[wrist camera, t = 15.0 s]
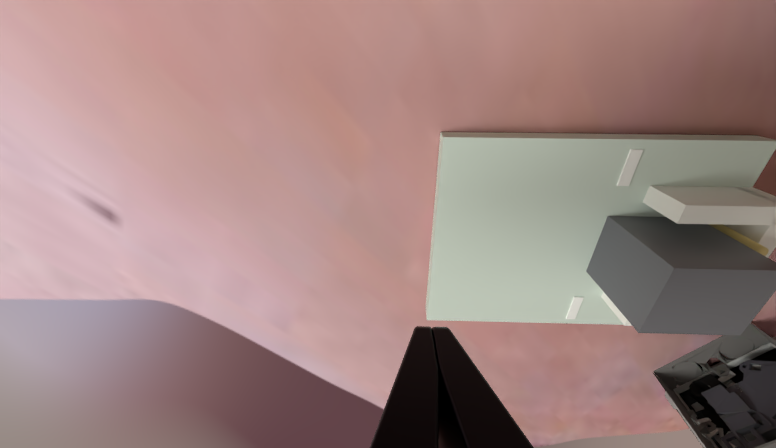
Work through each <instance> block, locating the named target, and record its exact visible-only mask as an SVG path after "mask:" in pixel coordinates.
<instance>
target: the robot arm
mask: <svg viewBox="0 0 776 448" xmlns="http://www.w3.org/2000/svg"><path fill="white" fill-rule="evenodd" d="M370 448H533V446H532V445H531V443H530V442H529V440H528V439H527V438H526V436H525V435H524V433H523V432H522V431H521V429H520V428H519V426H518V425H517V424H516V422H515V421H514V419H513V418H512V417H511V415H510V414H509V412H508V411H507V409H506V408H505V407H504V405H503V404H502V402H501V401H500V400H499V398H498V397H497V395H496V394H495V393H494V391H493V390H492V388H491V387H490V385H489V384H488V383H487V381H486V380H485V378H484V377H483V376H482V374H481V373H480V371H479V370H478V369H477V367H476V366H475V364H474V363H473V362H472V360H471V359H470V357H469V356H468V354H467V353H466V352H465V350H464V349H463V347H462V346H461V345H460V343H459V342H458V340H457V339H456V338H455V336H454V335H453V333H452V332H451V331H450V329H449V328H447V327H433V328H432V329H431V327H422V326H417V327H415V329H414V331H413V334H412V337H411V339H410V342H409V345H408V347H407V350H406V353H405V355H404V358H403V361H402V363H401V366H400V369H399V371H398V374H397V377H396V379H395V382H394V385H393V387H392V390H391V392H390V395H389V398H388V400H387V403H386V406H385V408H384V411H383V414H382V417H381V419H380V422H379V425H378V427H377V430H376V432H375V435H374V438H373V440H372V443H371V446H370Z"/></svg>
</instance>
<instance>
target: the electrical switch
mask: <svg viewBox="0 0 776 448" xmlns="http://www.w3.org/2000/svg"><path fill="white" fill-rule="evenodd" d="M751 324H752V323H751ZM751 324H749V325H748V326H747V328H746V329H745V330H744V331H743V333H742V334H741V335H723V336H721V337H719V338H718V339H716V340H714V341H712V342H710V343H708V344H706V345H704V346H702V347H700V348H698V349H696V350H694V351H692V352H690V353H688V354H686V355H684V356H682V357H681V358H679V359H677V360H675V361H673V362H671V363H669V364H667V365H665V366H663V367H661V368H659V369H657V370H655V371H654V373H655V374H656V375H657V376H656V375H655V374H654V373H653V374H654V375H655V376H656V378H657V379H658V381H659V382H660V384H661V385H662V386H663V388H664V389H665V397H666V398H667V400H668V401H669V403H670V404H671V406H672V407H673V408H674V409H676V410H677V411H678V412H679V414H680V415H681V417H682V418H683V420H684V421H685V422H686V424H687V425H688V427H689V428H690V429H691V431H692V432H693V434H694V435H695V436H696V438H697V439H698V441H699V442H700V444H701V445H702V446H703V448H776V337H775V336H774V337H772V338H771V337H770V336H769V335H767V334H766V333H764V332H763V331H762V330H760V329H759V328H758V327H756V326H755V325H753V324H752V325H753V326H752V325H751ZM722 341H723V342H722ZM719 351H720V353H722V354H723V355H725V356H726V357H728V358H726V357H724V356H722V355H721V354H720V353H719ZM710 358H717V359H719V360H720V361H722V362H720V363H718V364H715V365H713V366H711V367H710V366H709V365H708V364H707V361H708V360H709V359H710ZM685 361H687V362H685ZM694 362H695V363H694ZM696 363H698V364H700V365H701V366H702V368H703V371H702V370H701V368H700V367H699V366H698V365H697V364H696ZM673 366H674V368H673ZM674 377H675V378H676V379H675V378H674Z"/></svg>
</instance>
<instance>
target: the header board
mask: <svg viewBox="0 0 776 448" xmlns="http://www.w3.org/2000/svg"><path fill="white" fill-rule="evenodd" d="M775 149H776V140H774V139H770V138H765V137H761V136H757V135H671V134H582V133H494V132H440V144H439V156H438V168H437V180H436V191H435V203H434V215H433V227H432V238H431V250H430V262H429V274H428V285H427V297H426V316H427V320H446V321H489V322H532V323H575V324H618V325H625V326H632V325H631V323H630V322H629V321H628V320H627V319H626V318H625V316H624V315H623V314H622V313H621V312H620V310H619V309H618V308H617V307H616V306H615V305H614V303H613V302H612V301H611V300H610V299H609V298H608V296H607V295H606V294H605V293H604V292H603V291H602V289H601V288H600V287H599V286H598V285H597V284H596V282H595V281H594V280H593V279H592V278H591V276H590V275H589V274H588V273H587V272H586V270H587V268H588V265H589V262H590V260H591V257H592V255H593V252H594V250H595V247H596V245H597V242H598V239H599V237H600V234H601V232H602V229H603V227H604V224H605V222H606V219H607V217H608V216H646V217H667V218H669V219H670V220H672V221H674V222H675V223H677V224H708V225H710V226H712V227H714V228H715V229H717V230H719V231H721V232H723V233H724V234H726V235H728V236H730V237H732V238H733V239H735V240H737V241H739V242H740V243H742V244H744V245H746V246H748V247H749V248H751V249H753V250H755V251H756V252H758V253H760V254H762V255H764V256H765V257H767V258H768V257H769V256H770V255H771V253H772V252H773V250H774V249H775V248H776V196H774V195H771V194H769V193H766V192H764V191H761V190H759V189H756V188H753V186H754V184H755V182H756V181H757V179H758V177H759V176H760V174H761V172H762V171H763V169H764V167H765V166H766V164H767V163H768V161H769V159H770V158H771V156H772V154H773V153H774V151H775Z"/></svg>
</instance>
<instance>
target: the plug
mask: <svg viewBox="0 0 776 448" xmlns="http://www.w3.org/2000/svg"><path fill="white" fill-rule="evenodd" d="M586 272H587V273H588V274H589V275H590V276H591V278H592V279H593V280H594V281H595V282H596V284H597V285H598V286H599V287H600V288H601V289H602V291H603V292H604V293H605V294H606V295H607V296H608V298H609V299H610V300H611V301H612V302H613V303H614V305H615V306H616V307H617V308H618V309H619V310H620V312H621V313H622V314H623V315H624V316H625V318H626V319H627V320H628V321H629V322H630V323H631V325H632V326H633V327H634V328H635V329H636V330H637V332H638V333H666V334H705V335H741V334H742V333H743V331H744V330H745V329H746V328H747V326H748V325H749V324H750V323H751V321H752V320H753V319H754V317H755V316H756V315H757V314H758V312H759V311H760V310H761V309H762V307H763V306H764V305H765V303H766V302H767V301H768V300H769V298H770V297H771V296H772V295H773V293H774V292H775V291H776V262H774V261H772V260H771V259H769V258H767V257H765V256H764V255H762V254H760V253H758V252H756V251H755V250H753V249H751V248H749V247H748V246H746V245H744V244H742V243H740V242H739V241H737V240H735V239H733V238H732V237H730V236H728V235H726V234H724V233H723V232H721V231H719V230H717V229H715V228H714V227H712V226H710V225H708V224H677V223H675V222H674V221H672V220H670V219H669V218H667V217H646V216H608V217H607V219H606V222H605V224H604V227H603V229H602V232H601V234H600V237H599V239H598V242H597V245H596V247H595V250H594V252H593V255H592V257H591V260H590V262H589V265H588V268H587V270H586Z"/></svg>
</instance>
